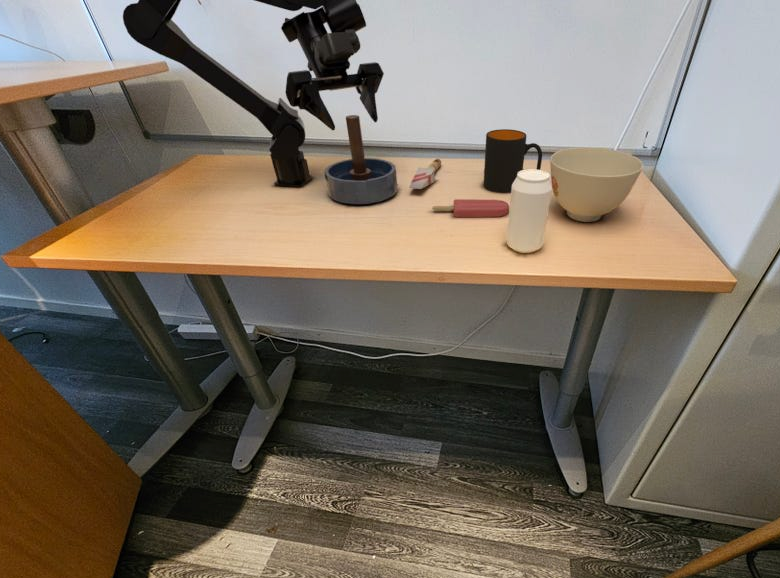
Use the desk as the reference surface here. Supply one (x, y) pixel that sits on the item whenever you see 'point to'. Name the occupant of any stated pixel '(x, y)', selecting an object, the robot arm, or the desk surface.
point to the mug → (505, 158)
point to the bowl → (592, 180)
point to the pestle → (357, 149)
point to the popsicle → (477, 208)
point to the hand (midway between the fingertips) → (355, 124)
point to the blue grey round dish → (361, 182)
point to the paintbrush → (425, 175)
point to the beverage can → (528, 210)
